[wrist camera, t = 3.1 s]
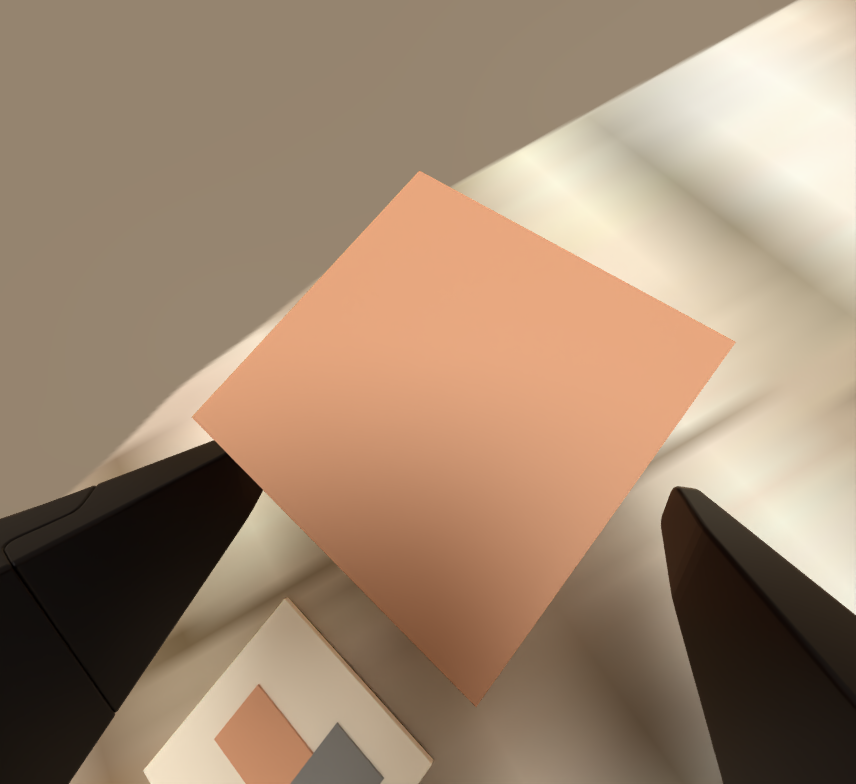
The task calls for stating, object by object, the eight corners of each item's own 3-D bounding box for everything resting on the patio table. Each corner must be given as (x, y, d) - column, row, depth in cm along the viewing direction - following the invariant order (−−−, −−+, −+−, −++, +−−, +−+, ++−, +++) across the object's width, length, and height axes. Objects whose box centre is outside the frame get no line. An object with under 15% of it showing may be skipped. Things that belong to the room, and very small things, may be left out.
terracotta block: (490, 581, 16) (476, 707, 5) (381, 484, 18) (191, 417, 7) (579, 462, 17) (735, 342, 6) (465, 380, 19) (419, 170, 8)
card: (281, 973, 14) (274, 986, 13) (149, 766, 16) (140, 772, 16) (433, 759, 15) (431, 765, 14) (287, 597, 17) (283, 598, 17)
